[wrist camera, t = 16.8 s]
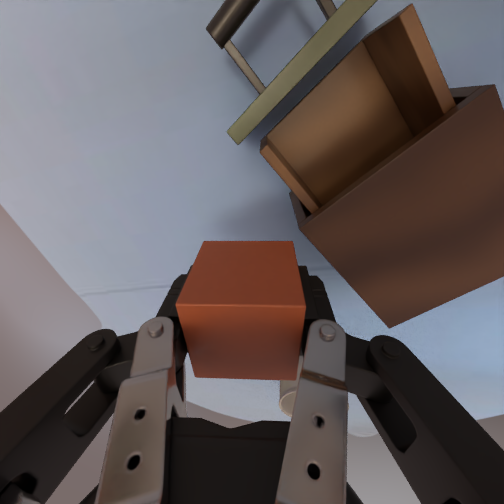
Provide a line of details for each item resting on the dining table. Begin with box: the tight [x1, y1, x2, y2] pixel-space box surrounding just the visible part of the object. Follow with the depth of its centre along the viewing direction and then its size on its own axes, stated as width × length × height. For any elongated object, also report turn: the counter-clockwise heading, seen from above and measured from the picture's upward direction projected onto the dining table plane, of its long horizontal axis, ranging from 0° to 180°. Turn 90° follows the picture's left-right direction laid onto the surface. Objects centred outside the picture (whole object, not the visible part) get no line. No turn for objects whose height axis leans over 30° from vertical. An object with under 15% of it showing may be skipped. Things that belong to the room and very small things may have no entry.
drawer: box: [206, 0, 456, 214], centre depth 19 cm, size 20×13×7 cm, turn 43°
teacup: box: [279, 356, 349, 417], centre depth 40 cm, size 14×11×8 cm
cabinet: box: [289, 84, 504, 328], centre depth 23 cm, size 16×14×9 cm
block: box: [176, 241, 306, 381], centre depth 11 cm, size 4×4×4 cm
